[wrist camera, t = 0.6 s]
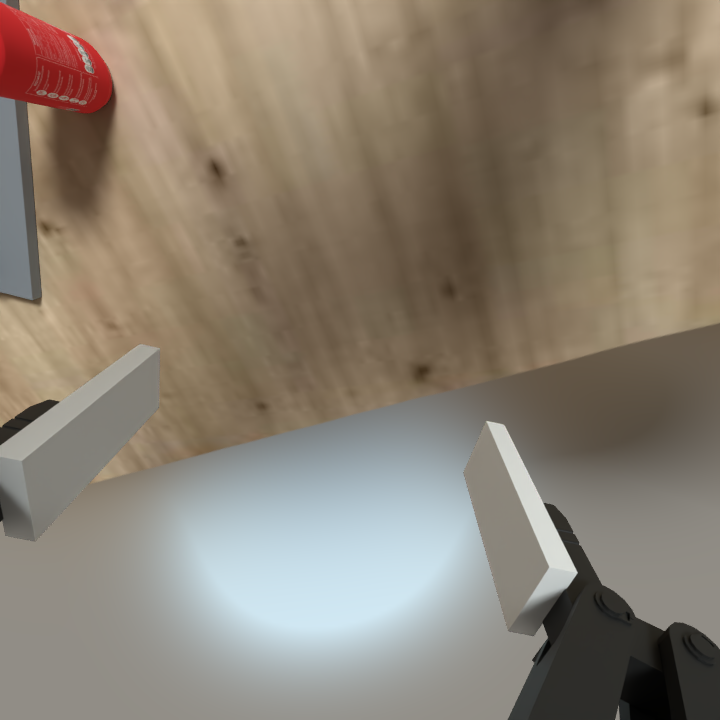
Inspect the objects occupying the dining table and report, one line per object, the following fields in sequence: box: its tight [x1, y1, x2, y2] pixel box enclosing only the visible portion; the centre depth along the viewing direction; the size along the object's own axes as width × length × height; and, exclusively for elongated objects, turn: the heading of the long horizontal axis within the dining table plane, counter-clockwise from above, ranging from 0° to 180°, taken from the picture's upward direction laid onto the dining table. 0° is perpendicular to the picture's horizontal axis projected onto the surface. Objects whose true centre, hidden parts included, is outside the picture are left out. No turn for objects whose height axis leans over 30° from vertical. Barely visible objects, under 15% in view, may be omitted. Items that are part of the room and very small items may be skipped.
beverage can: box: [0, 2, 113, 113], centre depth 28 cm, size 5×5×12 cm
